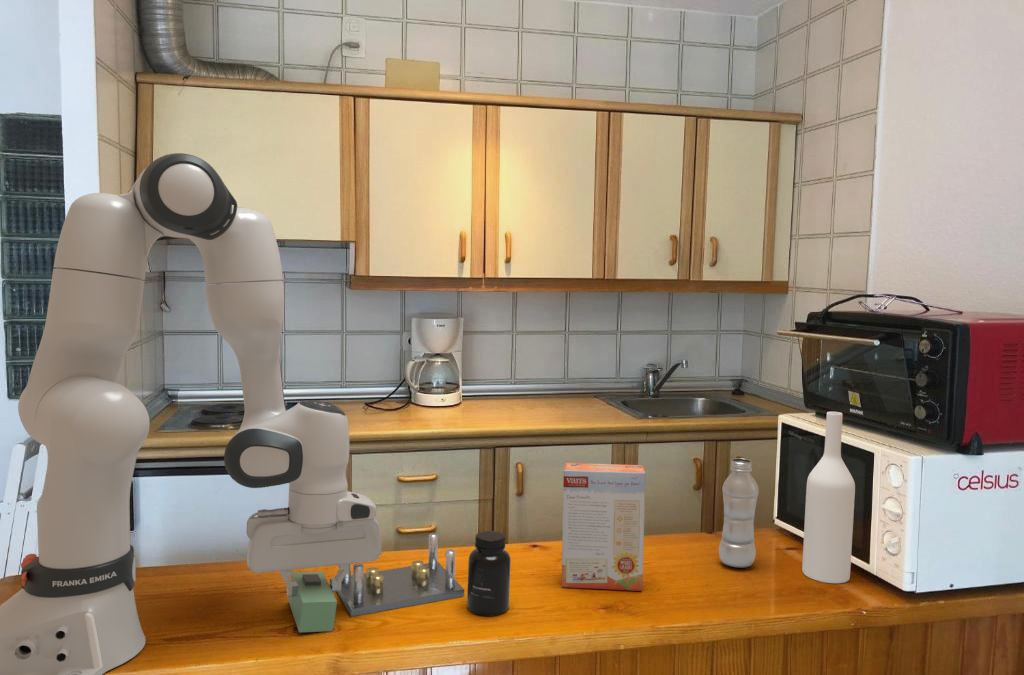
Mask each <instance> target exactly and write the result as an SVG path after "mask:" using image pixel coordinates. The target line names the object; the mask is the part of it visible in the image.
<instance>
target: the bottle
mask: <svg viewBox="0 0 1024 675" xmlns="http://www.w3.org/2000/svg"><path fill="white" fill-rule="evenodd" d="M825 419H826V420H825V423H826V424H825V436H824V437H825V438H824V450H823V455H822V456H821V458H820V460H819V461H818V462H817V464H816V465H815V466H814V467H813V469H812V470H811V471H810V472H809V474H808V476H807V481H806V489H805V507H804V508H805V509H804V510H805V511H804V525H803V526H804V527H803V528H804V529H803V547H802V563H801V564H802V565H801V566H802V573H803V574H804V575H805V576H806V577H807V578H809V579H811V580H814V581H817V582H820V583H825V584H826V583H827V584H843V583H847V582H848V581H850V579H851V578H850V577H851V569H852V568H851V567H852V551H853V550H852V548H853V546H852V545H853V534H854V533H853V532H854V530H853V529H854V517H855V516H854V514H855V513H854V511H855V498H856V497H855V495H856V483H855V480H854V478H853V476H852V474H851V472H850V471H849V468H848V467H847V466H846V464H845V462H844V460H843V458H842V433H843V413H842V412H840V411H839V412H838V411H827V412H826V418H825Z"/></svg>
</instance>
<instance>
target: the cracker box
mask: <svg viewBox="0 0 1024 675" xmlns="http://www.w3.org/2000/svg"><path fill="white" fill-rule="evenodd" d="M562 486H563V490H562V494H563V495H562V523H561V524H562V528H561V530H562V532H561V535H562V537H561V538H562V540H561V587H562V588H573V589H576V588H577V589H594V590H600V589H601V590H611V591H612V590H615V591H616V590H617V591H633V592H635V591H636V592H643V588H644V587H643V584H644V583H643V581H644V580H643V579H644V542H645V506H646V505H645V500H646V498H645V497H646V471H645V468H644V466H643V465H642V464H618V463H617V464H615V463H614V464H613V463H589V462H588V463H586V462H585V463H583V462H564V467H563V485H562Z"/></svg>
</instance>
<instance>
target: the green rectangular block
mask: <svg viewBox="0 0 1024 675" xmlns="http://www.w3.org/2000/svg"><path fill="white" fill-rule="evenodd" d="M290 581H291V582H297V584H298V590H297V596H294V597H288V596H287V597H288V598H287V599H288V600H287V601H288V603H289V607H290V611H291V613H292V616H293V619H294V621H295V625H296V628H297V630H298V633H317V632H334V625H335V619H336V612H337V604H338V601H337V598H336V597H335V594H334V592H332V590H331V588H330V586H329V585H330V583H329V582H328V580H327V577H326V576H325V574H324V571H311V572H310V571H309V572H307V571H303V572H300V571H299V572H297V571H296V572H293V571H292V574H291V576H290Z"/></svg>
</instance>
